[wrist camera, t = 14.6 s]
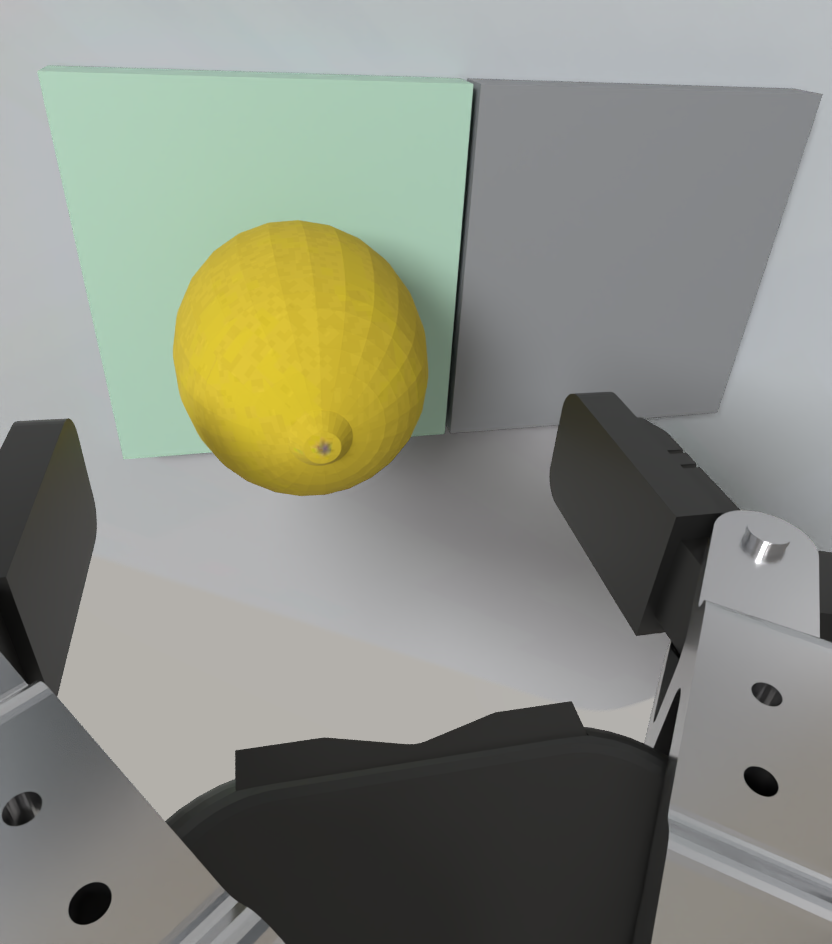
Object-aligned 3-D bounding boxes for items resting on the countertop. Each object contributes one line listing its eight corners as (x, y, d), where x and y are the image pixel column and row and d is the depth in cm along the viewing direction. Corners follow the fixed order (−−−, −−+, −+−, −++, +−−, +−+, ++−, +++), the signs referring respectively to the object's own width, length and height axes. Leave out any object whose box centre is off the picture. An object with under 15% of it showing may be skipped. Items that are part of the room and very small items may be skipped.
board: (794, 88, 20) (822, 94, 19) (698, 396, 26) (717, 412, 25) (47, 65, 16) (37, 70, 15) (128, 437, 22) (123, 459, 21)
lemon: (404, 356, 21) (484, 524, 15) (219, 401, 20) (219, 595, 14) (369, 161, 18) (452, 268, 11) (148, 209, 17) (105, 348, 11)
